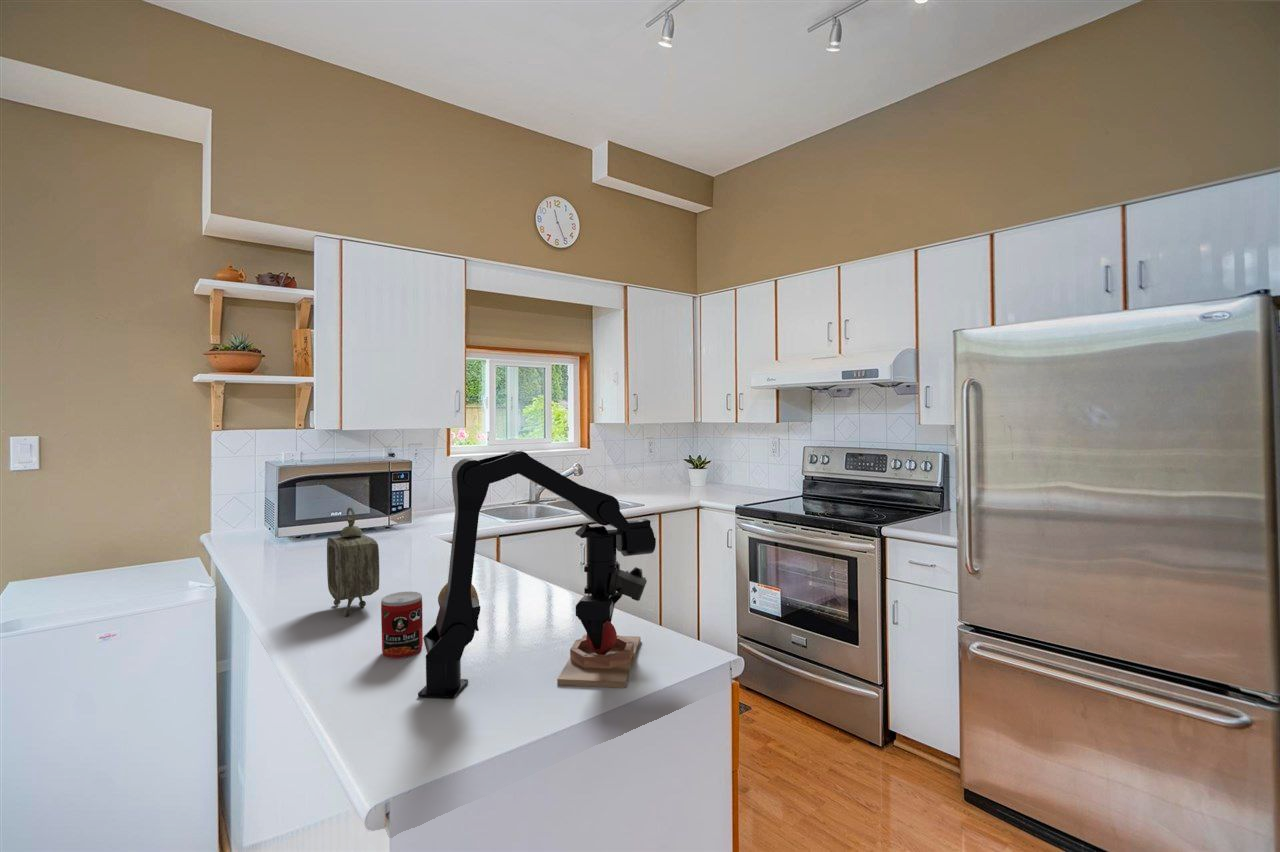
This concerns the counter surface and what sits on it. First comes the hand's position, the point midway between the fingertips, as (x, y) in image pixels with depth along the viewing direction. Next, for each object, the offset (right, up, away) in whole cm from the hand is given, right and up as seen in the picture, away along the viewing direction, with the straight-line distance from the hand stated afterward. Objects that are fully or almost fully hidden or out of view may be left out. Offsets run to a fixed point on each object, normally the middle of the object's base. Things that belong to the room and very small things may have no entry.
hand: (602, 639), depth 118 cm
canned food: (-41, -5, +6) cm, 41 cm away
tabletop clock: (-63, -4, +34) cm, 72 cm away
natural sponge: (-34, -4, +23) cm, 42 cm away
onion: (0, -3, 0) cm, 3 cm away
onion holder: (0, -4, 0) cm, 4 cm away
